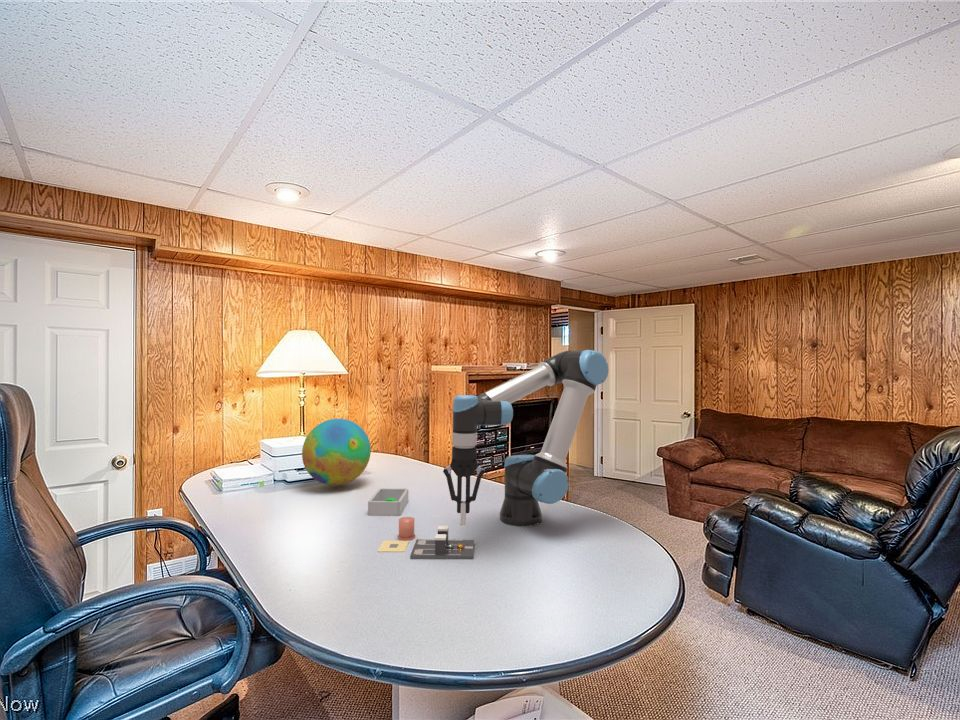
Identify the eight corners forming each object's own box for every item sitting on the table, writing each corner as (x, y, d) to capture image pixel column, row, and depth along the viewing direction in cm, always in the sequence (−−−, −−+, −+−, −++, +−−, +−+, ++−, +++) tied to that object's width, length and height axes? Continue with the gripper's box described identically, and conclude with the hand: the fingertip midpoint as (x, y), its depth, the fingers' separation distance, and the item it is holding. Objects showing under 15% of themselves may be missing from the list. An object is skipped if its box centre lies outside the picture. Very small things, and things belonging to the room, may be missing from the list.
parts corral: (408, 500, 190) (408, 488, 190) (400, 515, 172) (400, 502, 172) (379, 500, 190) (379, 488, 190) (367, 515, 172) (367, 501, 172)
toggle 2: (446, 549, 137) (446, 534, 137) (445, 554, 134) (445, 538, 134) (436, 549, 137) (436, 534, 137) (435, 554, 134) (435, 538, 134)
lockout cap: (416, 534, 153) (416, 516, 153) (413, 541, 148) (413, 522, 148) (399, 534, 153) (399, 516, 153) (396, 541, 148) (396, 522, 148)
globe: (288, 491, 202) (288, 422, 202) (322, 474, 231) (322, 414, 231) (353, 495, 197) (353, 424, 197) (380, 477, 226) (380, 415, 226)
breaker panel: (474, 544, 145) (474, 537, 145) (473, 561, 133) (473, 553, 133) (416, 544, 145) (416, 536, 145) (410, 560, 133) (410, 552, 133)
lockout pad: (409, 542, 146) (409, 540, 146) (404, 553, 138) (404, 551, 138) (383, 542, 147) (383, 540, 147) (377, 553, 139) (377, 550, 139)
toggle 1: (448, 540, 144) (448, 525, 144) (447, 544, 141) (447, 529, 141) (438, 540, 144) (438, 525, 144) (437, 544, 141) (437, 529, 141)
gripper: (485, 444, 146) (484, 519, 146) (444, 443, 146) (442, 518, 146) (485, 448, 139) (484, 528, 139) (442, 447, 139) (440, 527, 139)
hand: (463, 523), depth 142 cm, fingers closed
